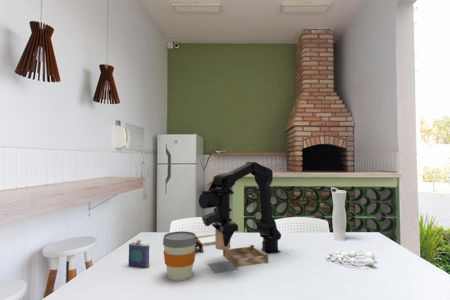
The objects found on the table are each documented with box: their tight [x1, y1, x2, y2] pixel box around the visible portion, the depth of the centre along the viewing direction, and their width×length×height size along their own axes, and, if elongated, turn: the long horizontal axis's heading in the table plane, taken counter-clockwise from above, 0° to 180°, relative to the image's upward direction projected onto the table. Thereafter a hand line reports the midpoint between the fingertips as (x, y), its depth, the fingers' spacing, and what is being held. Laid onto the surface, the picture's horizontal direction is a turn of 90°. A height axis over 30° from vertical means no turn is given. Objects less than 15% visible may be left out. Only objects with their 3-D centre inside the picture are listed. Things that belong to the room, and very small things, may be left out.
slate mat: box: [207, 260, 240, 274], centre depth 117 cm, size 10×10×1 cm
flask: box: [128, 239, 150, 269], centre depth 118 cm, size 9×3×11 cm, turn 74°
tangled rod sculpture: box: [325, 250, 376, 267], centre depth 124 cm, size 19×14×4 cm
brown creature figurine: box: [195, 237, 205, 254], centre depth 137 cm, size 12×10×8 cm
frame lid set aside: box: [196, 233, 216, 247], centre depth 154 cm, size 14×14×1 cm
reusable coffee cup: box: [162, 230, 197, 282], centre depth 109 cm, size 13×13×15 cm
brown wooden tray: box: [222, 244, 269, 268], centre depth 126 cm, size 15×15×4 cm
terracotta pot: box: [214, 228, 231, 251], centre depth 117 cm, size 6×6×7 cm
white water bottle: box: [330, 187, 347, 242], centre depth 158 cm, size 8×8×28 cm
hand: (222, 244), depth 117 cm, fingers closed on terracotta pot, 6 cm apart
